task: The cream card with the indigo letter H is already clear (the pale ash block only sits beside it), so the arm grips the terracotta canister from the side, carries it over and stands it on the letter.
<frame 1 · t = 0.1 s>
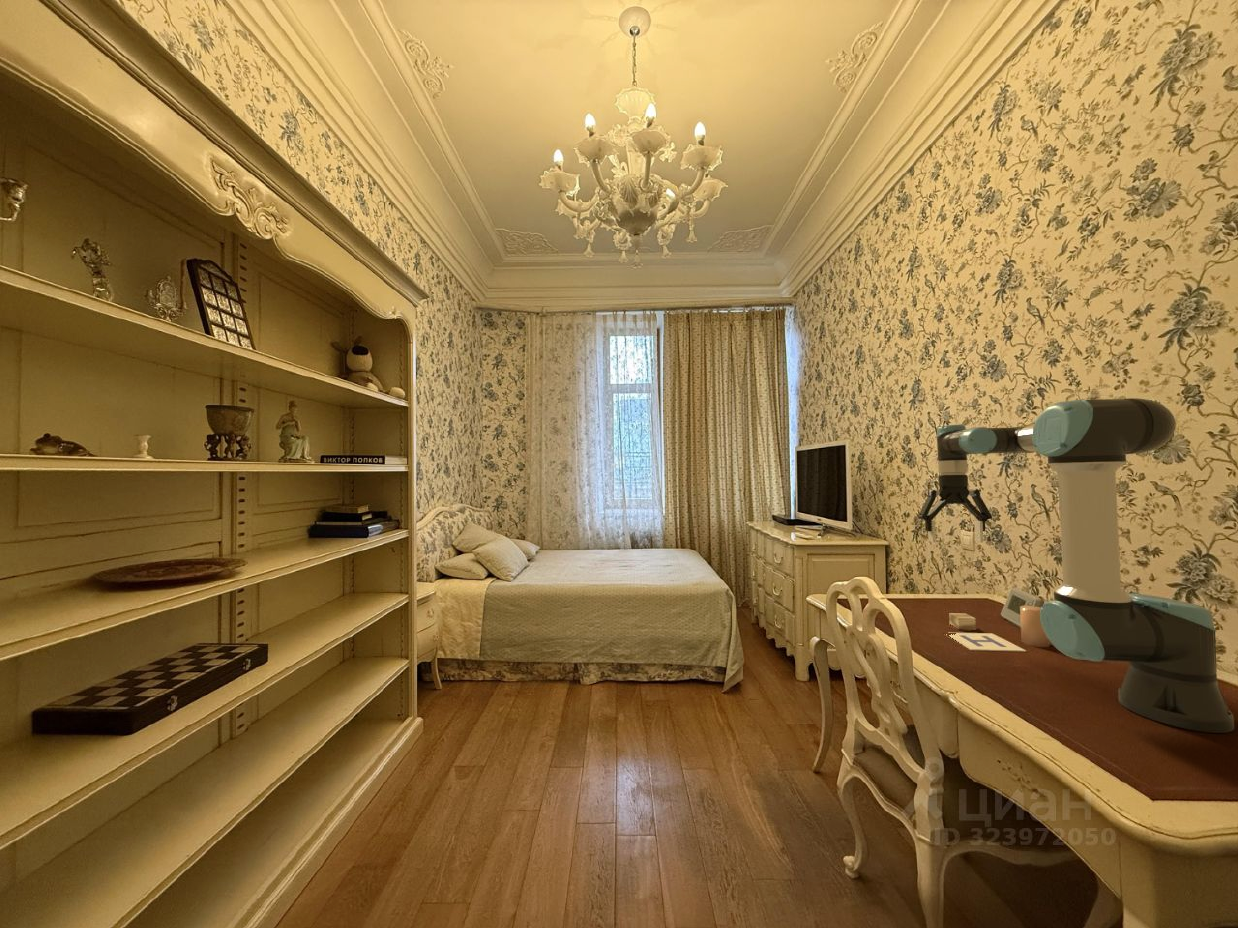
hand: (955, 541, 146), 28 cm above the table, tool pointing down, fingers open, 13 cm apart
letter card: (982, 641, 136), on the table
ash block: (962, 628, 149), on the table
terracotta canister: (1035, 643, 134), on the table
digital clock: (1022, 625, 150), on the table
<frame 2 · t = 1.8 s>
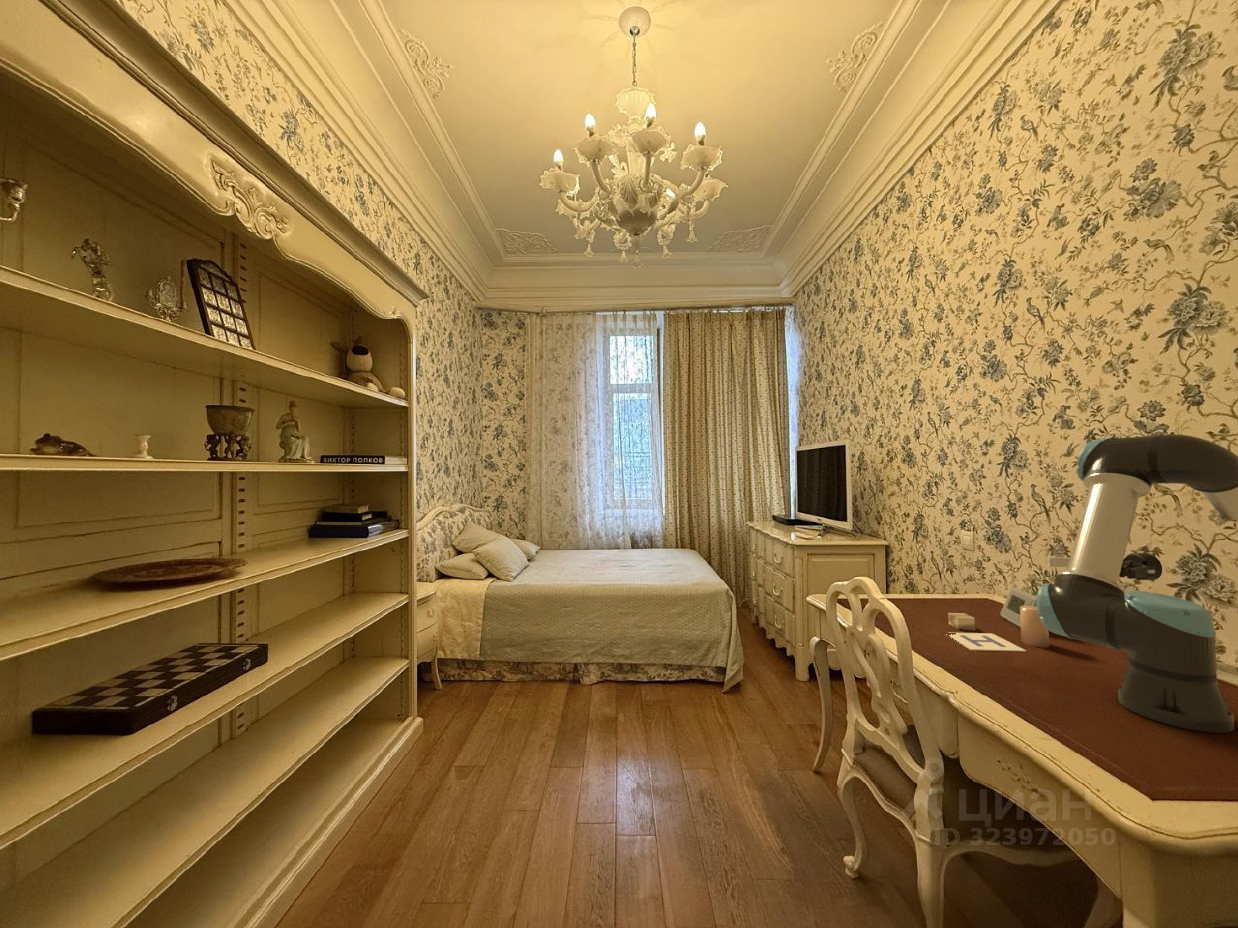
hand: (1067, 566, 134), 22 cm above the table, tool horizontal, fingers open, 13 cm apart
nothing on the table moved.
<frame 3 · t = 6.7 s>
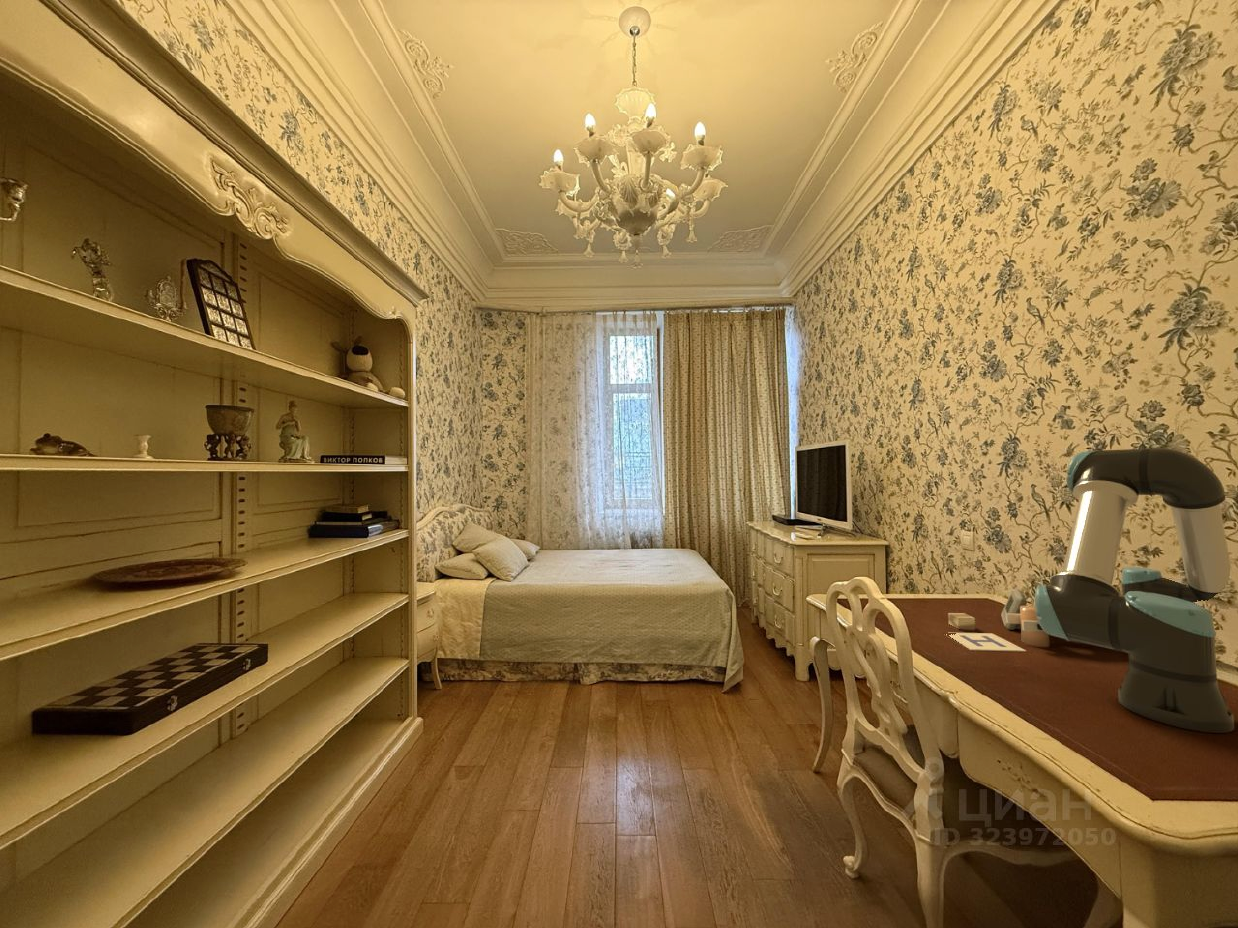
hand: (1014, 621, 135), 6 cm above the table, tool horizontal, fingers closed on terracotta canister, 6 cm apart
terracotta canister: (1035, 643, 134), on the table, touching gripper
digital clock: (1014, 625, 150), on the table
everything else where it was.
when the fingers open (8 cm above the table, at t = 12.4 s): terracotta canister drops 1 cm, resting on letter card.
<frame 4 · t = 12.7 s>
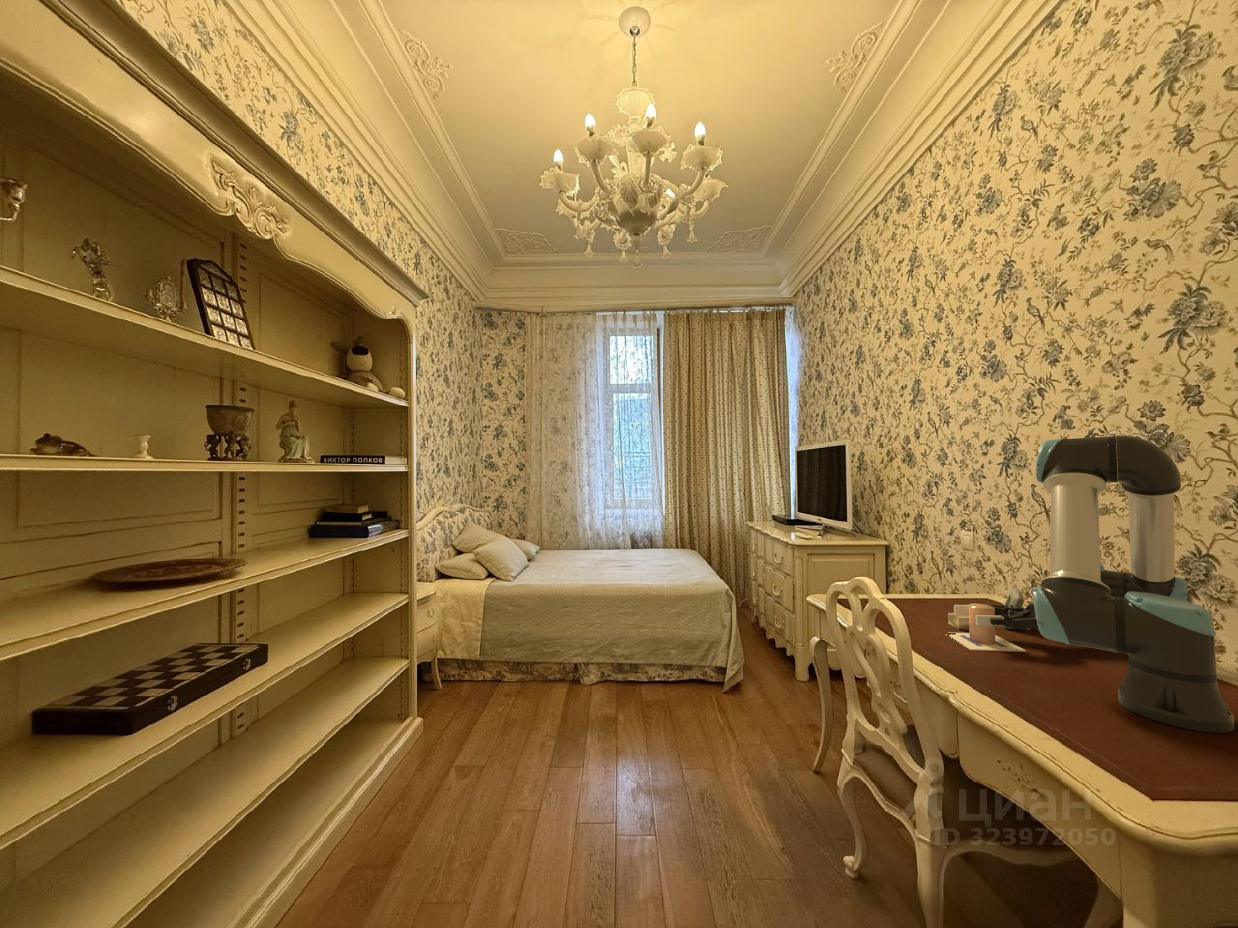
hand: (965, 614, 137), 8 cm above the table, tool horizontal, fingers open, 10 cm apart
terracotta canister: (982, 640, 136), resting on letter card
everything else where it was.
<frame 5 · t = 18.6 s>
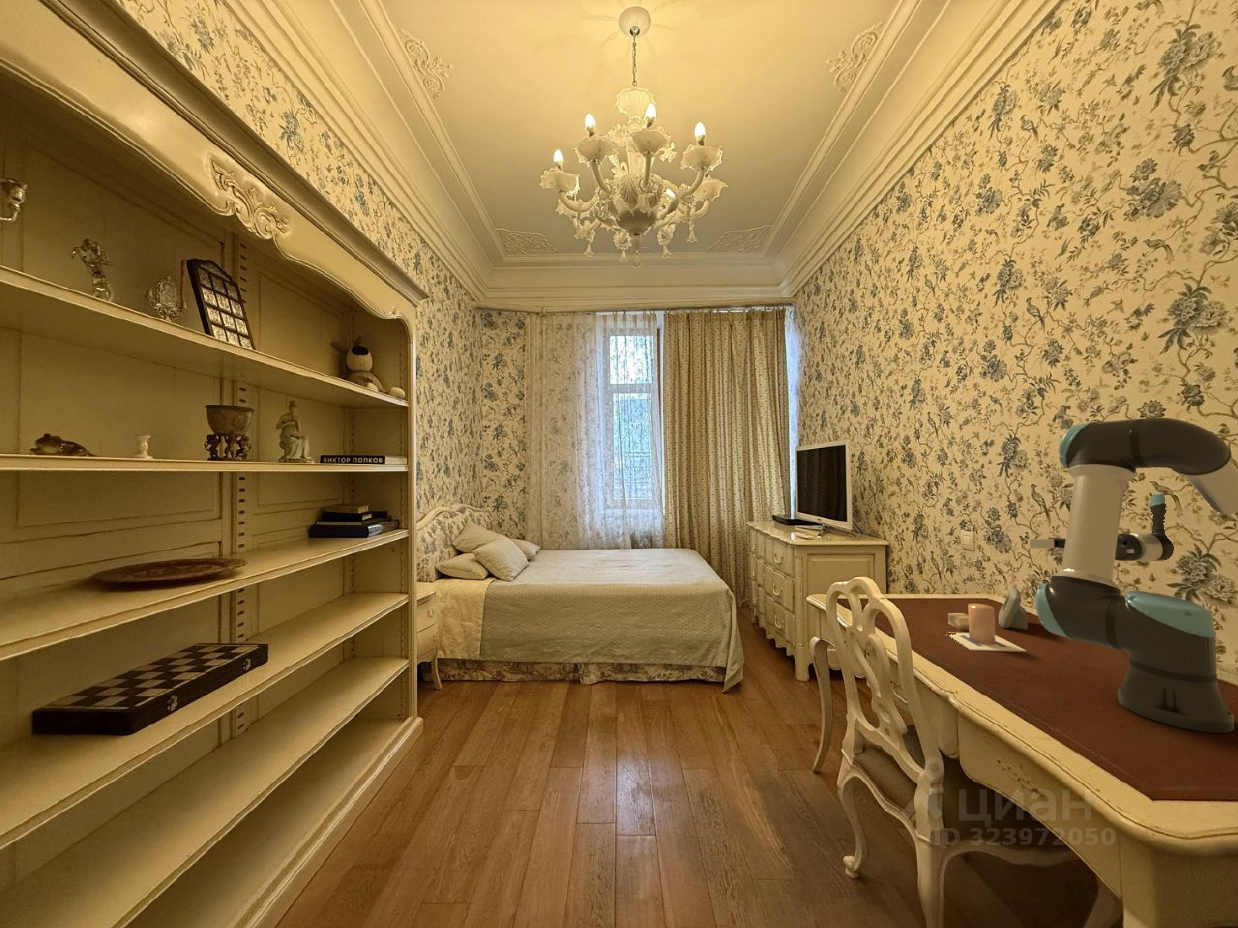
hand: (1046, 547, 133), 28 cm above the table, tool horizontal, fingers open, 13 cm apart
at the end: terracotta canister 0.1 cm off-centre on the letter card, point 0.3 cm above the letter card's base; terracotta canister tilted 0°; the gripper is holding nothing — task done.
